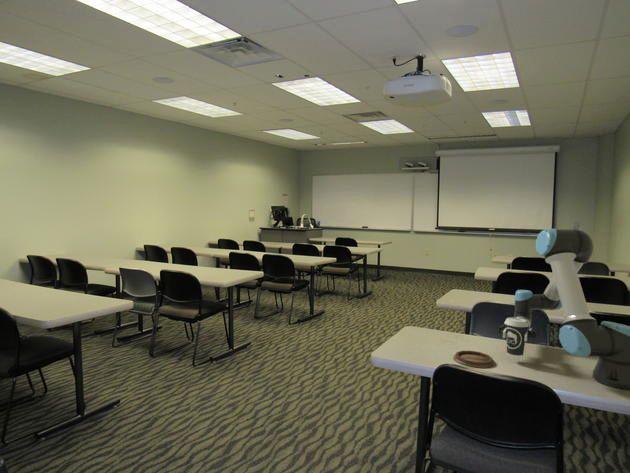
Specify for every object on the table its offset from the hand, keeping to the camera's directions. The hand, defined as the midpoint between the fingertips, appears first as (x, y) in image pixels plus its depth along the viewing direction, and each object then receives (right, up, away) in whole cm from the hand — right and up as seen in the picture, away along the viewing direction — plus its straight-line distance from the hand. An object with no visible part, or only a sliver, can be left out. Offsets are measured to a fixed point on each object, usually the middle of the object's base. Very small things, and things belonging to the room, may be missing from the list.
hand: (514, 336), depth 174 cm
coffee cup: (+2, -9, +4) cm, 10 cm away
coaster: (-16, -12, +5) cm, 20 cm away
